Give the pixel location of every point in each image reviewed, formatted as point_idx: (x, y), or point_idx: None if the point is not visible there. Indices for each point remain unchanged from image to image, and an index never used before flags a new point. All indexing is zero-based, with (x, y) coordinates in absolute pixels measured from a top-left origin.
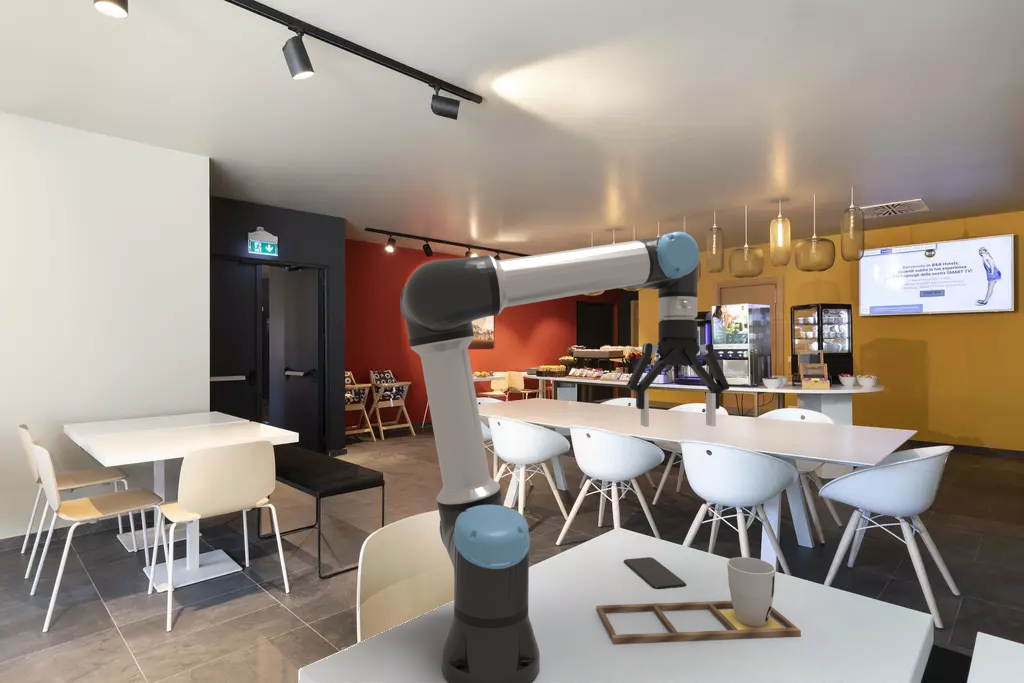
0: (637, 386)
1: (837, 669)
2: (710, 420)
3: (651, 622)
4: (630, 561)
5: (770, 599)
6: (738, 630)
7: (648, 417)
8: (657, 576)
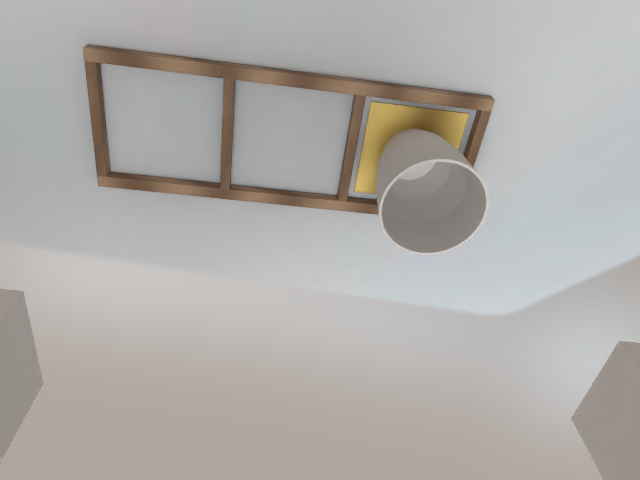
0: None
1: (423, 295)
2: (602, 439)
3: (202, 120)
4: None
5: (433, 215)
6: (345, 203)
7: (2, 453)
8: None
